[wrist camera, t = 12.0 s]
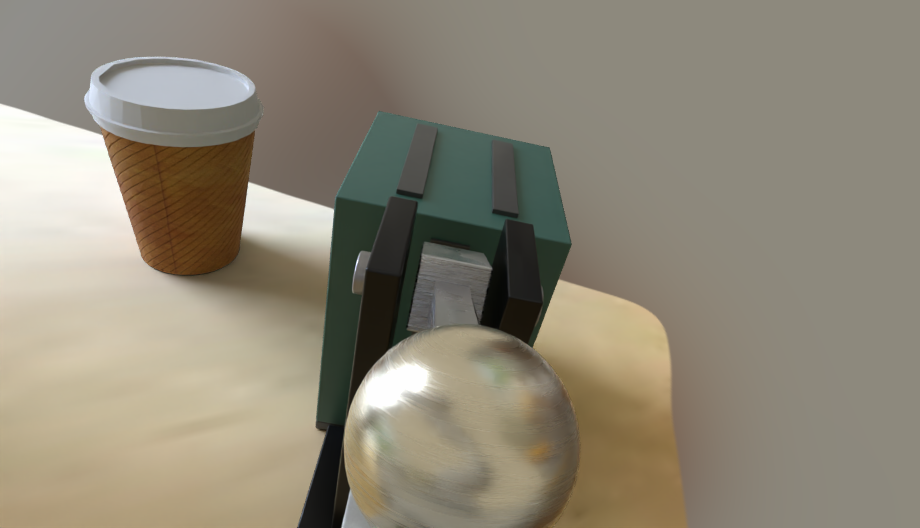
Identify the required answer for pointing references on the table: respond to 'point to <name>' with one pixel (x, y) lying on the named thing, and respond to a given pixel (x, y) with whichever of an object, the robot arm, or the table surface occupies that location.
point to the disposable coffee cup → (179, 155)
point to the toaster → (432, 221)
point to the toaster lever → (460, 416)
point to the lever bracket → (381, 287)
